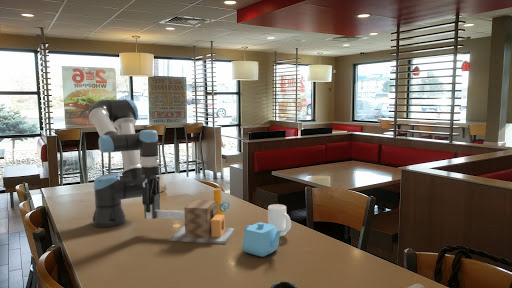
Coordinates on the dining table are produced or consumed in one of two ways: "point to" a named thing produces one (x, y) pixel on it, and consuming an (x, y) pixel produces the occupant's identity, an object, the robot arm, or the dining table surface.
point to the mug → (279, 218)
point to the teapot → (261, 239)
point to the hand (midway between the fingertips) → (152, 216)
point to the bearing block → (200, 224)
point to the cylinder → (219, 202)
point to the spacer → (218, 225)
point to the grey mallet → (163, 213)
